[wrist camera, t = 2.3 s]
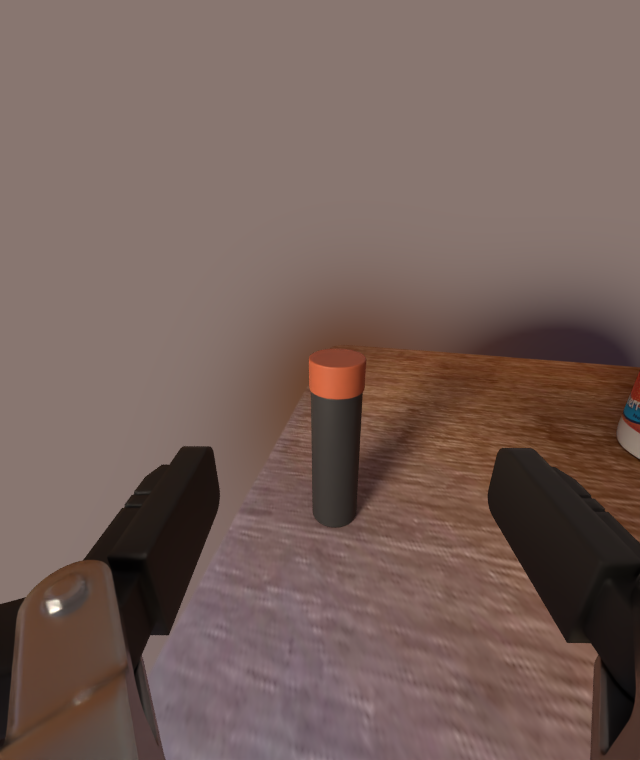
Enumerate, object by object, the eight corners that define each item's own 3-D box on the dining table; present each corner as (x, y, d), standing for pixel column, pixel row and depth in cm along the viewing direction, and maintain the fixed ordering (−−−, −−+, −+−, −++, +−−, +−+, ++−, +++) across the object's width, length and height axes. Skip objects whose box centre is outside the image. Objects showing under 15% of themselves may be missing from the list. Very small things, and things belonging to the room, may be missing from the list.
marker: (308, 527, 24) (305, 366, 19) (314, 492, 27) (312, 347, 22) (357, 531, 23) (366, 368, 18) (357, 495, 26) (365, 349, 22)
